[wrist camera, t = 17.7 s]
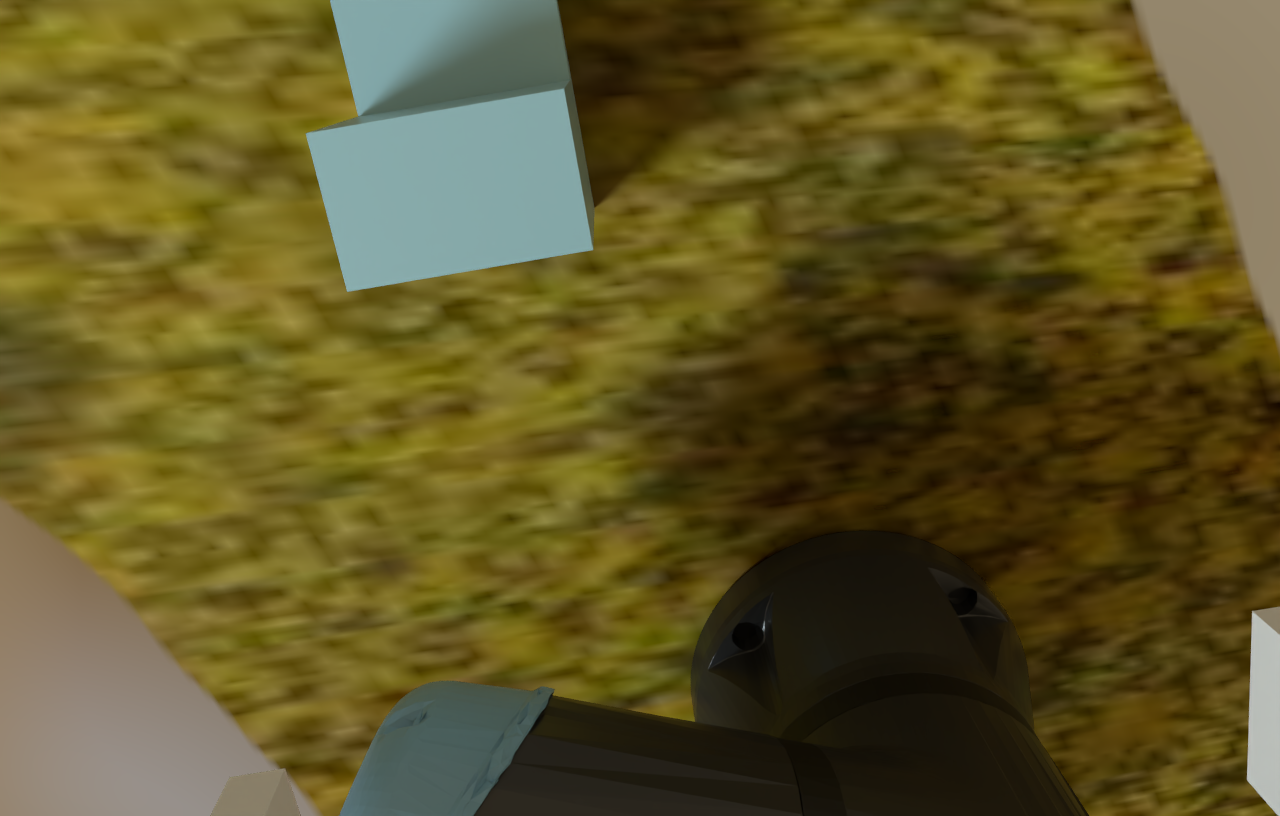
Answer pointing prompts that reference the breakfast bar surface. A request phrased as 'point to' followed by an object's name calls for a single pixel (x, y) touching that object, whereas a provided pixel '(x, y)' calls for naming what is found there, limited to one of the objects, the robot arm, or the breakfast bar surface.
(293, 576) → the breakfast bar surface
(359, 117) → the light blue l-bracket
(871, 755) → the robot arm
